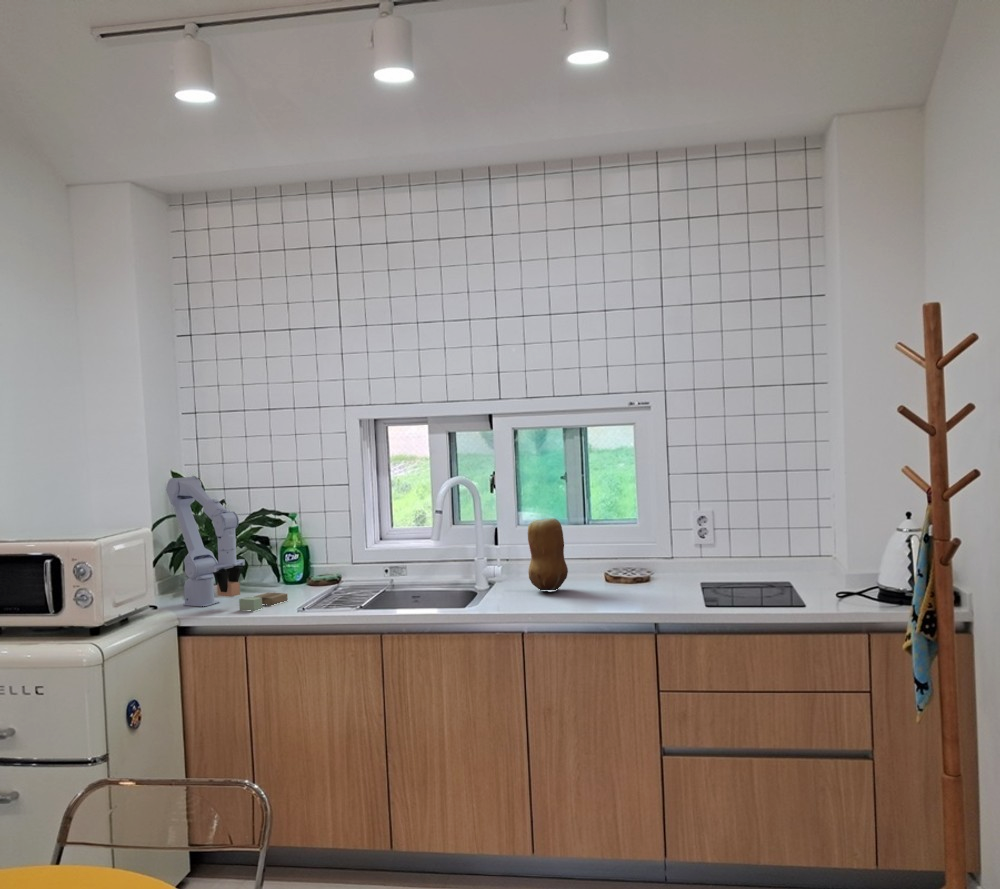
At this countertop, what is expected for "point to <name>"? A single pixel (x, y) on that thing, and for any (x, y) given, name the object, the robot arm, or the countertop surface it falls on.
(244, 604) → the sage brick
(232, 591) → the terracotta brick
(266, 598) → the walnut slab
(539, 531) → the butternut squash
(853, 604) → the countertop surface
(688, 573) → the countertop surface
